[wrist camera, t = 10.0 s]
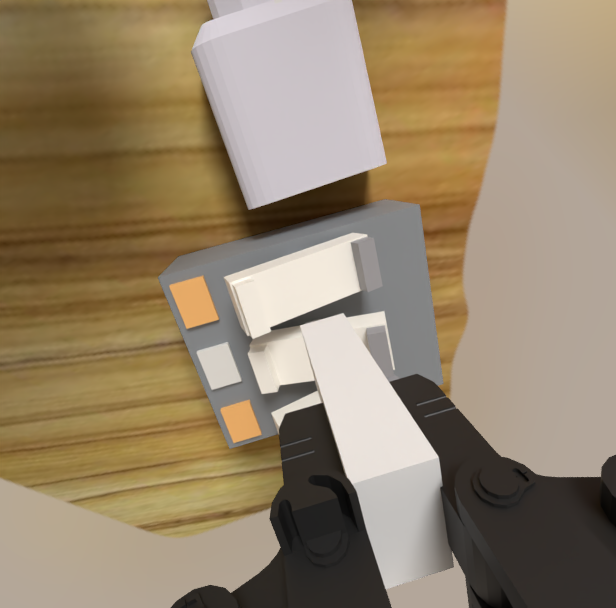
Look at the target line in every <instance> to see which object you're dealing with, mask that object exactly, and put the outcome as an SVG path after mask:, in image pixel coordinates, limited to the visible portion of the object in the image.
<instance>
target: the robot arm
mask: <svg viewBox="0 0 616 608" xmlns="http://www.w3.org/2000/svg"><path fill="white" fill-rule="evenodd" d="M300 328H301V331H302V335H303V339H304V342H305V346H306V350H307V353H308V357H309V361H310V365H311V368H312V372H313V376H314V379H315V383H316V387H317V390H318V394H319V397H320V401H321V403H320V404H316V405H313V406H310V407H306V408H303V409H299V410H296V411H292V412H289V413H286V414H285V415H284V418H283V420H282V422H281V425H280V427H279V439H280V447H281V459H282V469H283V479H284V485H283V486H282V487H281V488H280V490H279V491H278V493H277V495H276V497H275V498H274V500H273V502H272V506H271V513H270V521H271V523H272V526H273V529H274V531H275V534H276V536H277V539H278V541H279V544H280V547H281V548H280V550H279V552H278V554H277V555H276V556H275V557H274V559H273V560H272V561H271V563H270V564H269V565H268V566H267V567H266V568H265V569H263V570H262V571H261V572H260V573H259V574H257V575H256V576H255V577H253V578H252V579H250V580H249V581H248V582H246V583H245V584H243V585H242V586H240V587H239V588H238V589H236V590H235V591H233V592H232V593H230V592H229V591H228V590H227V589H226V588H223V587H218V586H213V585H208V586H205V587H201V588H198V589H194V590H192V591H191V592H189V593H188V594H186V595H185V596H183V597H182V598H181V599H179V600H177V601H176V602H175V603H174V604H173V606H172V607H171V608H392V607H391V604H390V601H389V598H388V595H387V592H386V589H388V588H391V587H394V586H398V585H400V584H404V583H407V582H410V581H413V580H416V579H419V578H422V577H425V576H428V575H431V574H434V573H438V572H441V571H443V570H447V569H450V568H453V567H454V565H453V557H452V551H453V553H454V555H455V557H456V559H457V561H458V563H459V565H460V566H461V569H462V570H463V572H464V574H465V578H466V586H467V594H468V602H469V608H616V455H614V456H612V457H609V458H608V460H607V461H606V462H605V463H604V465H603V466H602V471H601V477H547V476H541V475H537V474H535V473H534V472H533V471H531V470H530V469H529V468H527V467H526V466H525V465H523V464H521V463H518V462H516V461H514V460H511V459H509V458H505V457H501V456H500V455H499V454H498V453H496V451H495V450H494V449H493V448H492V447H491V446H490V445H489V444H488V442H487V441H486V440H485V439H484V438H483V437H482V436H481V434H480V433H479V432H478V431H477V430H476V429H475V428H474V427H473V425H472V424H471V423H470V422H469V421H468V420H467V419H466V418H465V416H464V415H463V414H462V413H461V412H460V411H459V410H458V409H456V407H455V405H454V404H453V403H452V402H451V400H450V399H449V398H447V397H446V395H445V394H444V393H443V391H442V390H441V389H440V388H439V387H438V386H437V385H436V384H435V382H433V381H431V380H429V379H427V378H425V377H423V376H421V375H419V374H414V375H411V376H407V377H404V378H400V379H397V380H393V381H390V382H389V381H388V380H387V378H386V377H385V375H384V374H383V372H382V371H381V369H380V368H379V366H378V365H377V363H376V362H375V360H374V359H373V357H372V356H371V354H370V353H369V351H368V350H367V348H366V347H365V345H364V344H363V342H362V341H361V339H360V338H359V336H358V335H357V333H356V332H355V330H354V329H353V327H352V325H351V324H350V322H349V321H348V319H347V318H346V316H345V315H344V313H342V314H339V315H335V316H332V317H328V318H325V319H321V320H317V321H314V322H310V323H307V324H303V325H300Z"/></svg>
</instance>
